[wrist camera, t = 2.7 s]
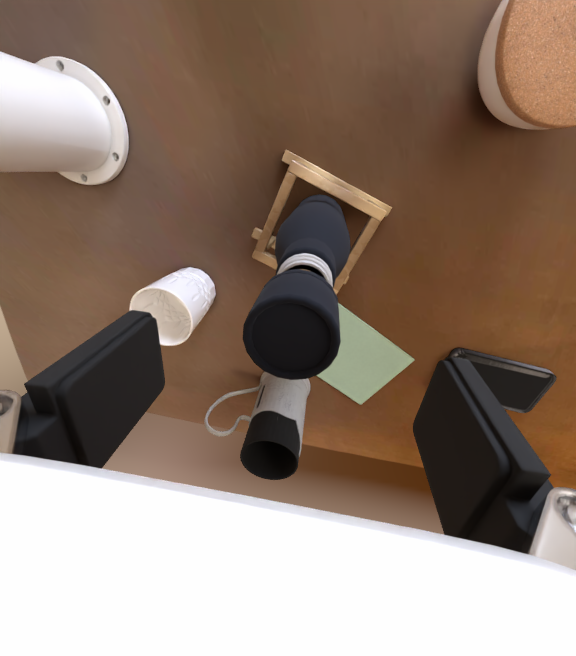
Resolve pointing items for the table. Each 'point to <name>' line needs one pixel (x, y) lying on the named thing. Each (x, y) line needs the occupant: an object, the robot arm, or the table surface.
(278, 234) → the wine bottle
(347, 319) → the mat
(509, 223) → the table surface
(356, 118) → the table surface
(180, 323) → the white cup
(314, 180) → the bottle stand
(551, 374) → the phone
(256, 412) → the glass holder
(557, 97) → the lidded bowl
